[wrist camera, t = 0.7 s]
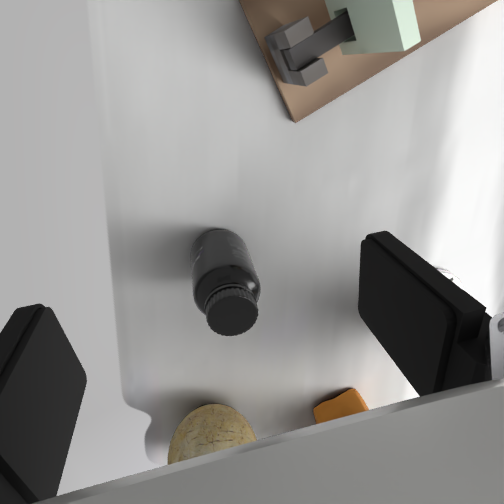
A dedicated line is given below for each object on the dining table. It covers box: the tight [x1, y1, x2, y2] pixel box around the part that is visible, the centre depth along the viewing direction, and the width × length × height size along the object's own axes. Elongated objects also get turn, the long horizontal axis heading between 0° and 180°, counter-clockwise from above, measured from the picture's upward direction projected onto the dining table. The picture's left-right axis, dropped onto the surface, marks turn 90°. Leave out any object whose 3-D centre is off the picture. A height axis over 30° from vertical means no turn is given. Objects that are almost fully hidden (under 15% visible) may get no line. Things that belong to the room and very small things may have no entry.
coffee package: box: [313, 389, 369, 424], centre depth 52 cm, size 10×12×22 cm
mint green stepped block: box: [325, 0, 421, 55], centre depth 25 cm, size 4×4×9 cm
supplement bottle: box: [190, 229, 261, 336], centre depth 36 cm, size 7×7×12 cm
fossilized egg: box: [168, 404, 257, 465], centre depth 48 cm, size 13×13×15 cm
